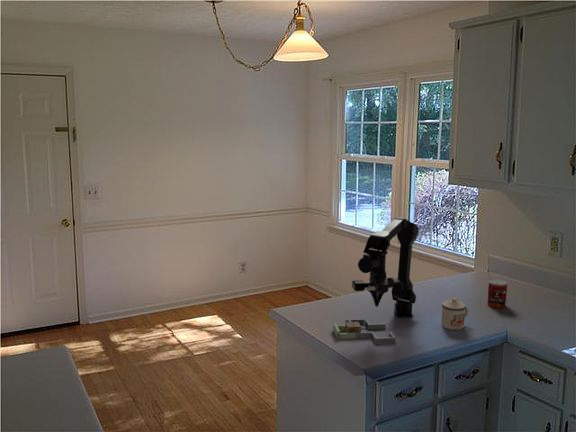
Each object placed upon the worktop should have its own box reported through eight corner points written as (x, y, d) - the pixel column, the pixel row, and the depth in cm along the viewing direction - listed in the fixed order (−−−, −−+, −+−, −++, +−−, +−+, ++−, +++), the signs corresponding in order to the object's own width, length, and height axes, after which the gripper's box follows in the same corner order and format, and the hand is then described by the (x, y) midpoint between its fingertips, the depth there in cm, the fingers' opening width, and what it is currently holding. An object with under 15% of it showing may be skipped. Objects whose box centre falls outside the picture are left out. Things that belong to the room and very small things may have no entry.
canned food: (486, 307, 240) (488, 283, 238) (487, 301, 247) (489, 278, 245) (505, 309, 237) (507, 285, 235) (505, 303, 244) (507, 280, 242)
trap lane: (381, 322, 222) (381, 315, 221) (395, 342, 202) (396, 335, 201) (330, 324, 219) (330, 317, 219) (340, 345, 200) (340, 337, 199)
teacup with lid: (451, 332, 212) (453, 303, 210) (436, 324, 220) (437, 296, 218) (474, 327, 217) (476, 299, 215) (458, 319, 225) (460, 292, 223)
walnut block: (357, 331, 213) (358, 321, 212) (360, 336, 208) (361, 326, 207) (345, 331, 213) (345, 322, 212) (347, 336, 208) (348, 327, 207)
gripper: (358, 273, 198) (357, 314, 200) (408, 272, 200) (406, 312, 202) (351, 265, 209) (350, 304, 211) (399, 264, 210) (397, 302, 213)
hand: (376, 306), depth 209 cm, fingers closed
